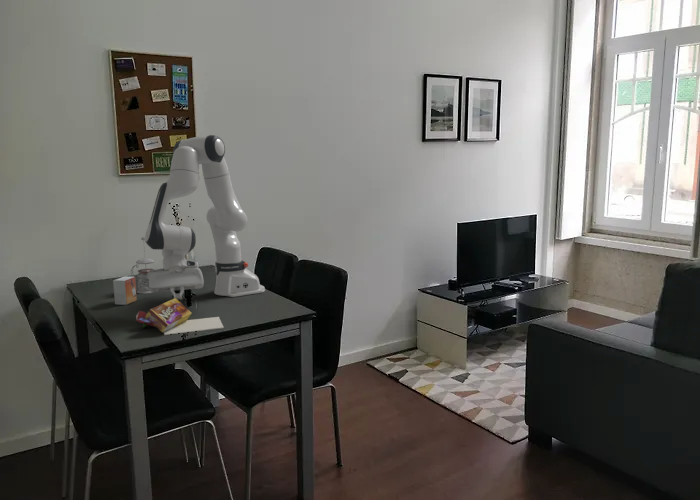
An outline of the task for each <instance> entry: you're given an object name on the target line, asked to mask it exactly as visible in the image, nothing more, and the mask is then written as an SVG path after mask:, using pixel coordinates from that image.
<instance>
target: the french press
mask: <svg viewBox="0 0 700 500" xmlns="http://www.w3.org/2000/svg"><path fill="white" fill-rule="evenodd" d="M140 239H141V241H143V242H145V237H143V236H142V237H141V238H140ZM143 250H144V251H143V252H144V253H143V254H144V255H146V249H145V246H143ZM135 263H136V264H135V265H133V266H132V267H131V268H130V277H135V275H134V268H137V269H138V268H139V265H145V268H141V269H138V270H137V272H138V273H137V277H135V282H136V281H137V288H138V289H136V294H153V293H154V292H151V291H150V290H149V279H148V278H147V273H148V272H149V271H151V270H155V269H154V268H147V265H148V264H154V263H155V260H154V259H152V258H149V257H143V258H140V259H138V260H137V261H136V262H135Z"/></svg>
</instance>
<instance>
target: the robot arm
mask: <svg viewBox="0 0 700 500" xmlns="http://www.w3.org/2000/svg"><path fill="white" fill-rule="evenodd" d="M172 153H173V154H172V158H171V163H170V169H169V176H168V179H167V181H166V182H164V183H162V184H161V185H160V187H159V189H158V191H157V195H156V199H155V201H154V205H153V210H152V213H151V217H150V220H149V223H148V225H147V229H146V231H145V235H144V236H145V240H144V243H145V244H146V245H147V246H148V247H149V248H150V249H152V250H161V255H162V257H163V259H162V266H163V267H162V268H158V269H154V270H151V271H149V272H148V273H147V274H146V275H147V278H148V279H149V280H148V279H147V280H148V281H149V282H148V283H149V290H150V291H151V292H153V293H160V292H170V294H171V295H172V296H173V299H175V298H176V299H177V300H178V301H179V300H183V294H184V293H185V290H194V289H203V287H204V284H205V281H204V276H203V272H202V270H201V269H200V268H199V267H200V266H199V262H197V261H195V260H190V259H186V255H188V254H189V253H190V252H191V251H193V250H194V249H195V247H196V241H197V240H196V233H195V231H194V230H193V228H191V227H188V226H184V225H183V226H182V225H175V224H174V225H173V224H165V223H164V221H163V220H164V217H165V212H166V210H167V206H168V203H169V202H170V201H171V200H173V199H178V198H183V197H187V196H190V195H191V194H193V193H195V191H196V190H197V189H198V186H199V180H200V165H201V169H202V177H203V180H204V184H205V185H204V186H205V188H206V193H207V196H208V198H209V199H210V200H211V202H212V204H213V205H214V206H211V207H210V208H209V209H208V211H207V213H206V221H207V223H208V224H209V227H210V230H211V234H212V237H213V238H212V239H213V241H214V246H215V247H214V250H215V265H214V268H215V274H216V278H215V279H216V280H215V281H216V282H215V288H214V292H213V293H214V294H215V295H217V296H222V297H223V296H225V297H231V298H235V297H240V296H242V297H243V296H248V295H255V294H260V293H261V294H262V293H264V292H265V291H266V288H265V286H264V285H262V284H260V279H259V277H258V276H257V274H255V273H254V272H252V271H251V270H249V269H248V267H249V263H248V262H246V261H244V260H242V248H241V246H242V245H241V241H240V240H239V238H238V236H237V235H238V234H237V233H238V232H242V230H244V229H245V228H246V226H247V225H248V221H249V220H248V216H247V214H246V212H245V211H244V210H243V208H242V207H241V205H240V202H239V199H238V197H237V196H236V192H235V190H234V187H233V183H232V179H231V173H230V169H229V167H228V163H227V161H226V158H225V153H226V146H225V143H224V141H223V139H222V138H221V137H220V136H218V135H214V134H209V135H200V136H198V135H197V136H195V137H190V138H186V139H184V138H183V139H181V140H179V141H176V143H175V144H174V147H173V149H172ZM175 291H179V292H178V293H176V292H175Z"/></svg>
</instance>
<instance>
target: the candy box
mask: <svg viewBox="0 0 700 500" xmlns="http://www.w3.org/2000/svg"><path fill="white" fill-rule="evenodd" d="M148 311H149V312H148ZM148 311H147V312H146V313H147V315H146V318H147V319H148V320H149V321H151V322H152V323H153V324H154V325H155V326H154V327H156V328H157V329H158V330H159V331H160V332H161V333H163V334H164V332H165V331H167V330H169V329H171V328H173V327H175V326H177V325H179V324H181V323H183V322H185V321H187V320H189V318H190V317H191V315H192V312H191V311H190V310H189V309H188V308H187V307H186V306H185V305H184V304H183V303H181V301H179V299H178V300H177V299H176V298H175V299H174V298H173V299H170V300H168V301H166V302H163V303H161V304H159V305H157V306H154V307H152V308H150V309H149V310H148Z"/></svg>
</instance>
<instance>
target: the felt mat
mask: <svg viewBox="0 0 700 500" xmlns="http://www.w3.org/2000/svg"><path fill="white" fill-rule="evenodd" d="M224 327H225V326H224V325H223V323H222V320H221V319H220V316H214V317H213V316H212V317H204V318H194V319H187V321H185V322H183V323H181V324H179V325H177V326H175V327H173V328H171V329H169V330H167V331H165V332H163V336H168V335H169V336H171V335H170V334H172V335H178V333H180V334H187V332H189V333H196V332H195V331H197V332H204V331H213V330H221V329H224Z"/></svg>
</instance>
